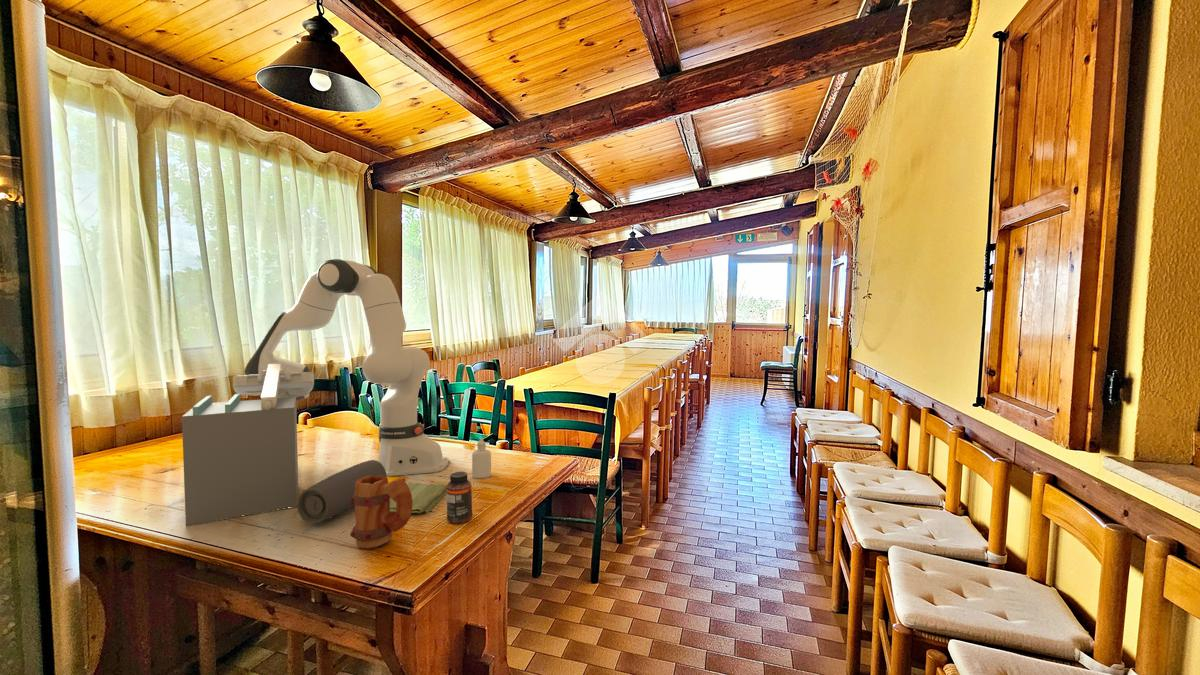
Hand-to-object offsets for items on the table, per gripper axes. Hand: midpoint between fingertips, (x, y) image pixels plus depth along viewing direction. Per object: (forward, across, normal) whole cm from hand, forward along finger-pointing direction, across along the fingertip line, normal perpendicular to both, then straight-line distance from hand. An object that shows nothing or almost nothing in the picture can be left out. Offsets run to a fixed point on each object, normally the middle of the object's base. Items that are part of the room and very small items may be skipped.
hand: (273, 372), depth 139 cm
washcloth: (+13, +33, +46) cm, 58 cm away
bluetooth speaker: (+10, +16, +44) cm, 48 cm away
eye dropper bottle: (+4, +54, +41) cm, 68 cm away
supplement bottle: (+28, +40, +54) cm, 73 cm away
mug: (+33, +22, +57) cm, 69 cm away
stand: (-4, -5, +36) cm, 36 cm away
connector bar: (+5, 0, +8) cm, 10 cm away
